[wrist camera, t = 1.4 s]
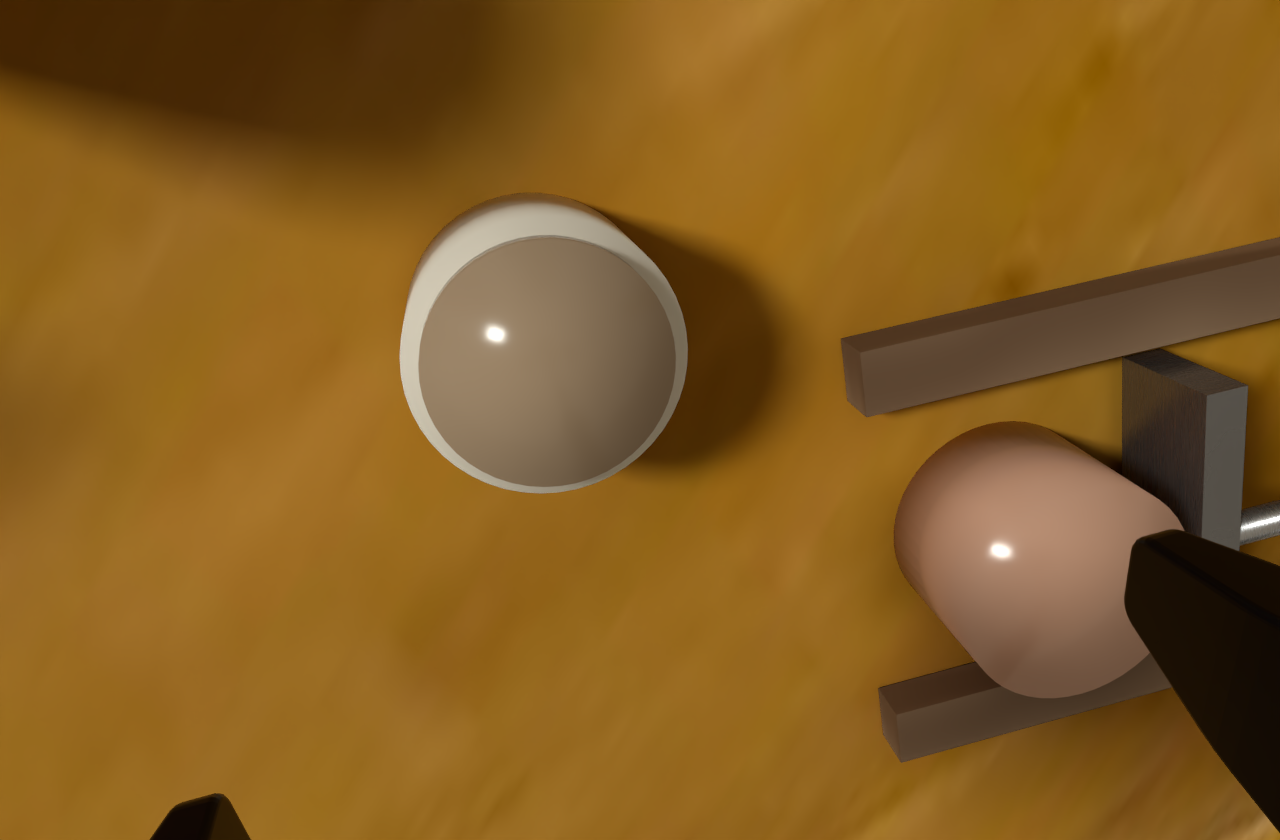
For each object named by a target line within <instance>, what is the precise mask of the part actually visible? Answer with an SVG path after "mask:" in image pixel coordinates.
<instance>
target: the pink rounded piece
mask: <svg viewBox="0 0 1280 840" xmlns="http://www.w3.org/2000/svg"><path fill="white" fill-rule="evenodd" d="M1169 529H1178V530H1182V531H1184V528H1183V527H1182V525H1181V523H1180V521H1179V520H1178V518H1177V517H1176V515H1175V514H1174V513H1173V512H1172V511H1171V509H1170V508H1169V507H1167V506H1166V505H1165V504H1164V503H1163V502H1162V501H1160V500H1159V499H1157V498H1156V497H1154V496H1153V495H1151V494H1150V493H1148V492H1146V491H1145V490H1143V489H1142V488H1140V487H1139V486H1137V485H1136V484H1134V483H1132V482H1131V481H1129V480H1128V479H1126V478H1125V477H1123V476H1122V475H1120V474H1118V473H1117V472H1115V471H1114V470H1112V469H1111V468H1109V467H1108V466H1106V465H1104V464H1103V463H1101V462H1100V461H1098V460H1097V459H1095V458H1094V457H1092V456H1090V455H1089V454H1087V453H1086V452H1084V451H1083V450H1081V449H1080V448H1078V447H1076V446H1075V445H1073V444H1072V443H1070V442H1069V441H1067V440H1066V439H1064V438H1063V437H1061V436H1059V435H1058V434H1056V433H1054V432H1053V431H1051V430H1049V429H1047V428H1044V427H1042V426H1039V425H1036V424H1031V423H1027V422H1016V421H1009V422H998V423H992V424H987V425H984V426H980V427H977V428H974V429H972V430H970V431H967V432H965V433H963V434H961V435H959V436H957V437H956V438H954V439H952V440H951V441H949V442H948V443H946V444H945V445H944V446H942V447H941V448H940V449H938V450H937V451H936V452H935V453H934V454H933V455H932V456H931V457H929V458H928V459H927V460H926V462H925V463H924V464H923V465H922V466H921V467H920V469H919V470H918V471H917V472H916V474H915V475H914V477H913V478H912V480H911V481H910V483H909V485H908V486H907V488H906V490H905V492H904V494H903V496H902V499H901V502H900V504H899V507H898V511H897V515H896V519H895V526H894V547H895V553H896V558H897V561H898V564H899V567H900V569H901V571H902V573H903V575H904V577H905V578H906V579H907V581H908V582H909V583H910V585H911V586H912V587H913V589H914V590H915V591H916V592H917V593H918V594H919V596H920V597H921V598H922V599H923V600H924V601H925V603H926V604H927V605H928V606H929V607H930V608H931V610H932V611H933V612H934V613H935V614H936V615H937V617H938V618H939V619H940V620H941V621H942V622H943V624H944V625H945V626H946V627H947V628H948V630H949V631H950V632H951V633H952V634H953V635H954V637H955V638H956V639H957V640H958V641H959V642H960V644H961V645H962V646H963V647H964V648H965V649H966V651H967V652H968V653H969V654H970V655H971V656H972V658H973V659H974V660H975V661H976V662H977V663H978V665H979V666H980V667H981V668H982V669H983V671H984V672H985V673H986V674H987V675H988V676H989V677H990V678H992V679H993V680H994V681H995V682H996V683H998V684H999V685H1001V686H1002V687H1004V688H1006V689H1008V690H1010V691H1012V692H1015V693H1018V694H1021V695H1025V696H1029V697H1036V698H1061V697H1069V696H1074V695H1078V694H1082V693H1085V692H1088V691H1091V690H1094V689H1097V688H1099V687H1101V686H1103V685H1105V684H1108V683H1110V682H1111V681H1113V680H1115V679H1117V678H1118V677H1120V676H1122V675H1123V674H1125V673H1126V672H1128V671H1129V670H1130V669H1132V668H1133V667H1135V666H1136V665H1137V664H1138V663H1139V662H1140V661H1142V660H1143V659H1144V658H1145V657H1146V656H1147V655H1148V654H1149V653H1150V652H1149V651H1148V649H1147V647H1146V646H1145V644H1144V643H1143V641H1142V640H1141V638H1140V637H1139V635H1138V634H1137V632H1136V631H1135V629H1134V627H1133V626H1132V624H1131V622H1130V621H1129V618H1128V616H1127V614H1126V610H1125V605H1124V593H1125V587H1126V580H1127V573H1128V567H1129V560H1130V553H1131V548H1132V546H1133V544H1134V543H1135V541H1136V540H1137V539H1139V538H1140V537H1143V536H1147V535H1150V534H1154V533H1158V532H1161V531H1165V530H1169Z"/></svg>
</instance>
